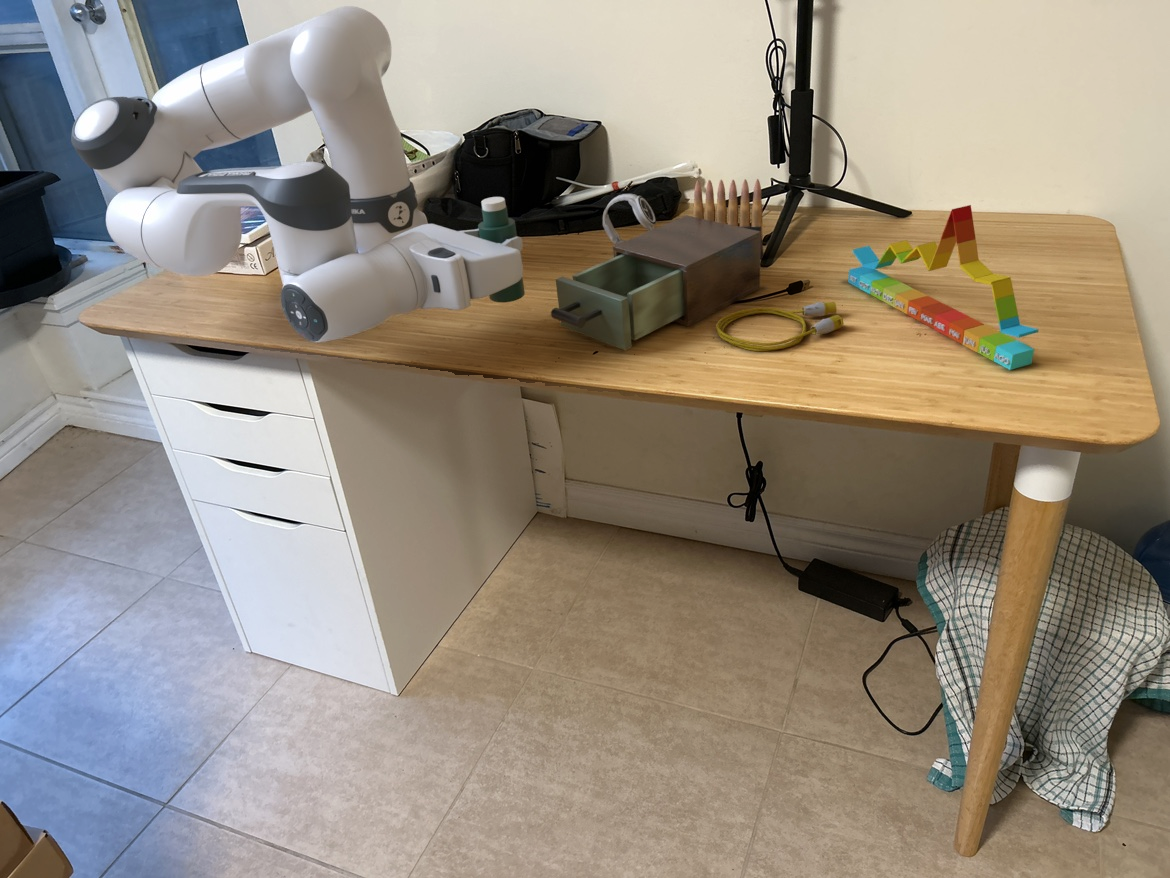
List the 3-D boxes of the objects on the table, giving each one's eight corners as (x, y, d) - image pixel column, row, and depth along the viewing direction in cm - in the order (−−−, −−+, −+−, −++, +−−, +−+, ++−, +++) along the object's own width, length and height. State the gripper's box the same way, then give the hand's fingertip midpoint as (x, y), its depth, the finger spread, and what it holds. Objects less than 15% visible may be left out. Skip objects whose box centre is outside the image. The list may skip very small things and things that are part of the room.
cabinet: (688, 326, 112) (686, 266, 108) (616, 303, 121) (612, 246, 116) (759, 288, 120) (761, 231, 116) (688, 269, 129) (686, 215, 125)
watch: (655, 272, 129) (651, 200, 123) (603, 272, 131) (597, 202, 125) (660, 258, 134) (657, 189, 128) (610, 259, 136) (605, 190, 130)
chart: (846, 282, 119) (854, 175, 111) (866, 277, 120) (875, 171, 112) (1008, 371, 95) (1033, 241, 87) (1031, 364, 96) (1058, 235, 88)
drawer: (600, 363, 104) (596, 312, 100) (536, 337, 112) (530, 289, 108) (700, 311, 114) (699, 264, 110) (635, 291, 122) (632, 246, 118)
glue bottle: (482, 297, 115) (466, 202, 108) (509, 285, 118) (496, 192, 111) (504, 305, 112) (489, 208, 105) (531, 293, 114) (519, 198, 108)
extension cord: (840, 356, 101) (842, 341, 100) (709, 349, 106) (709, 335, 105) (844, 313, 111) (845, 299, 110) (724, 309, 116) (724, 296, 114)
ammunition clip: (692, 258, 133) (690, 181, 126) (694, 254, 134) (692, 178, 128) (761, 259, 130) (763, 180, 123) (763, 255, 131) (764, 177, 125)
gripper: (377, 276, 112) (461, 245, 119) (469, 314, 99) (557, 276, 106) (366, 230, 109) (454, 201, 116) (460, 262, 95) (552, 227, 103)
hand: (504, 237), depth 111 cm, fingers closed on glue bottle, 5 cm apart
